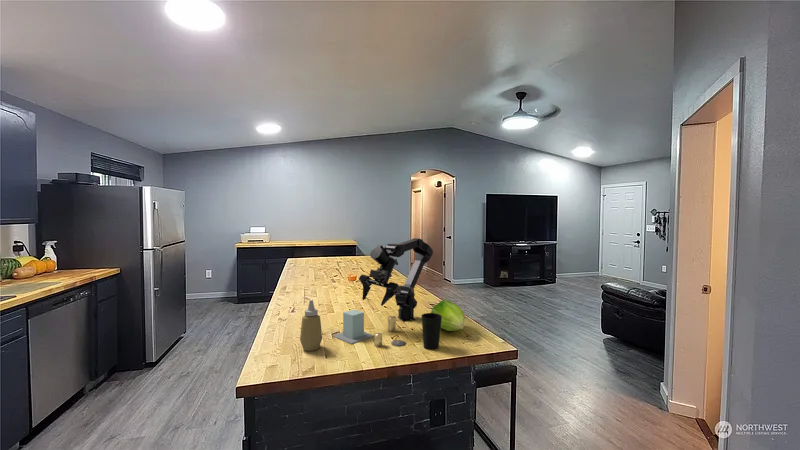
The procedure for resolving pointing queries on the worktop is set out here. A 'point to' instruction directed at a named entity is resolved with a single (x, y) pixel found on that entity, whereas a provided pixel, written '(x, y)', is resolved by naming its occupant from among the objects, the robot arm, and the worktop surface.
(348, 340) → the mat
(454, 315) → the lettuce
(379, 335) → the pin
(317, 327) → the squeeze bottle
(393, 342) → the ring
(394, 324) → the peg
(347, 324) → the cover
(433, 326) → the cup
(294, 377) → the worktop surface
